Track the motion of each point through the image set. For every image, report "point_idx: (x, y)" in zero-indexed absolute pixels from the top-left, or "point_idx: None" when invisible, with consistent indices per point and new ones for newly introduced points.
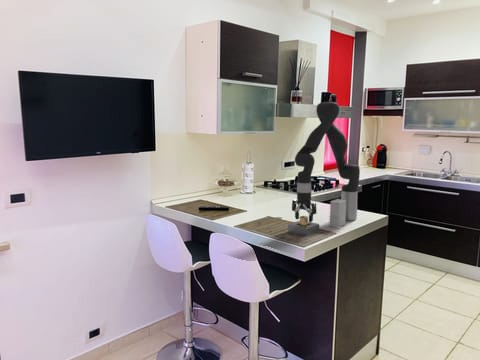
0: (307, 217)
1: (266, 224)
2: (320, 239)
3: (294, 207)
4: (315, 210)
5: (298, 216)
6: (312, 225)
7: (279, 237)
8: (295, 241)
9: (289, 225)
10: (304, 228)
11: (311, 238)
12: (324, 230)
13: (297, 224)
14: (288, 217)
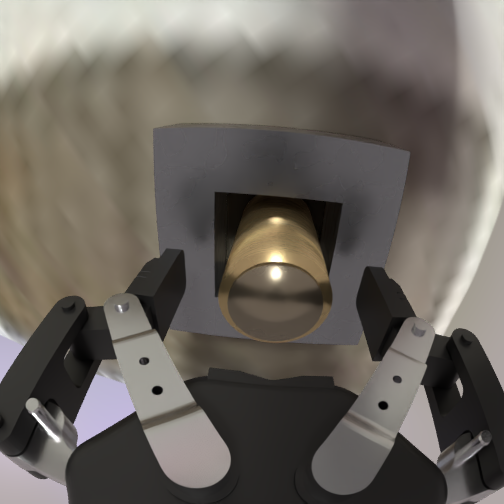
0: (324, 291)
1: (14, 237)
2: (436, 306)
3: (53, 332)
4: (480, 376)
5: (175, 273)
6: (371, 240)
7: None
8: None
9: (186, 327)
10: (338, 343)
11: None
12: (407, 95)
13: (215, 268)
14: (6, 21)
